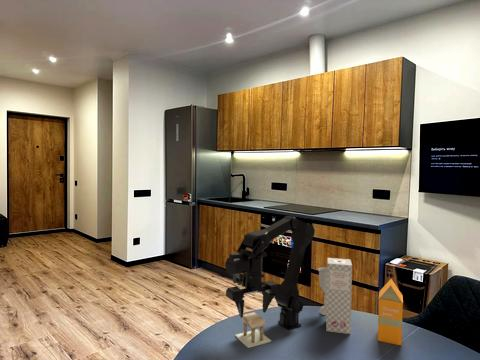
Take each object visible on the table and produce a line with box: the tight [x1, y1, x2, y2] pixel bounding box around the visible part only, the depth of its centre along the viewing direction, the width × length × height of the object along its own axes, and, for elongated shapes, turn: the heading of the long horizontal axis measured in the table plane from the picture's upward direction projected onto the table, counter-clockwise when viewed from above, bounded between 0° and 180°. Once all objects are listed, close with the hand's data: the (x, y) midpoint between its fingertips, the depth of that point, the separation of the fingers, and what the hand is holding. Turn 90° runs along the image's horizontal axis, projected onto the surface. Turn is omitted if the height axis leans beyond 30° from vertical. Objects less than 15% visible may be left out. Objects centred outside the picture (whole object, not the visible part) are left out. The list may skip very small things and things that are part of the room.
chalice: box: [317, 266, 327, 316], centre depth 139 cm, size 7×7×18 cm
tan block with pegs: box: [241, 311, 266, 343], centre depth 117 cm, size 7×5×7 cm
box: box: [325, 257, 353, 335], centre depth 126 cm, size 8×8×25 cm
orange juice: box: [377, 278, 404, 346], centre depth 120 cm, size 8×9×20 cm
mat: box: [234, 328, 272, 349], centre depth 117 cm, size 9×9×1 cm
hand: (252, 314), depth 117 cm, fingers open, 9 cm apart
